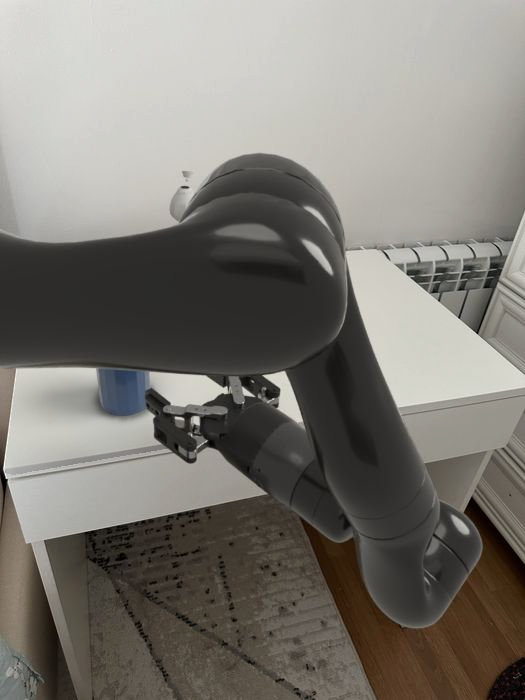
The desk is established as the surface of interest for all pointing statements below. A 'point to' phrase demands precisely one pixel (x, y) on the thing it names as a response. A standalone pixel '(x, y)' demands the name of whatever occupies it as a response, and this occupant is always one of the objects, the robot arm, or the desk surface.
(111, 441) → the desk surface
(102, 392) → the cup
